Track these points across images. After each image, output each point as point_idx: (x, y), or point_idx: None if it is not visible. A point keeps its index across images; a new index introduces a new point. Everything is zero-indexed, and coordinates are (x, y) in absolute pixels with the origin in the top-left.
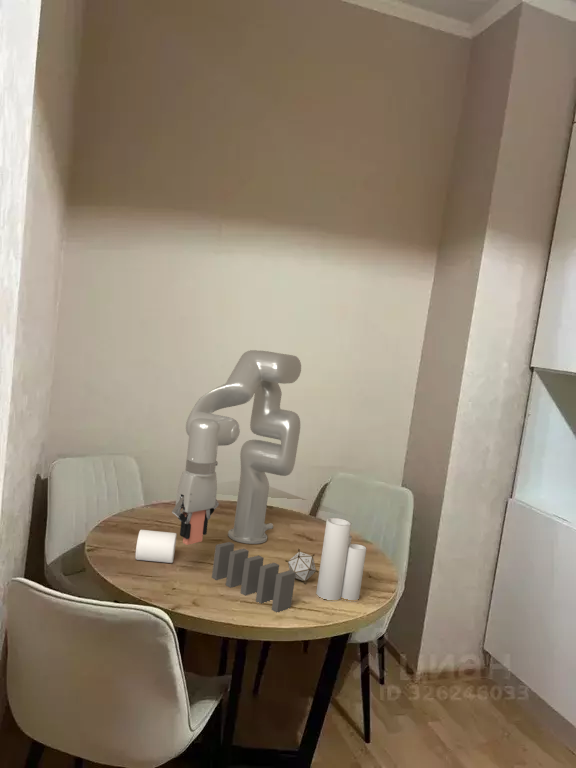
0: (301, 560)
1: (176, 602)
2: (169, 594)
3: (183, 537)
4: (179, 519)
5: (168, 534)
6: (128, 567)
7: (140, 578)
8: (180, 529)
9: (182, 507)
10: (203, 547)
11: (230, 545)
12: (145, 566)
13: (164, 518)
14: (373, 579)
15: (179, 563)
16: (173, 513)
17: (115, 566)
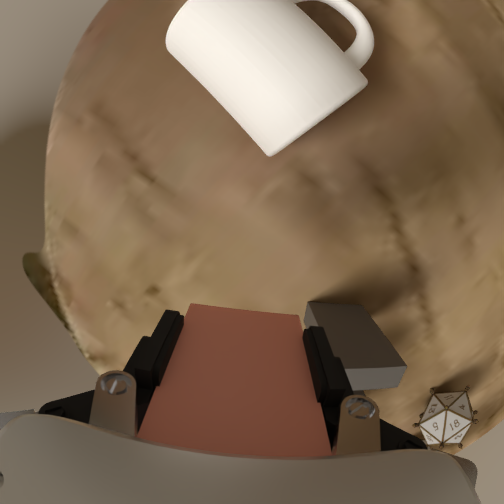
0: (437, 443)
1: (113, 345)
2: (121, 307)
3: (184, 320)
4: (87, 394)
5: (298, 85)
6: (141, 84)
7: (114, 176)
8: (136, 348)
9: (113, 431)
10: (464, 120)
11: (379, 386)
12: (192, 103)
13: None
14: (484, 424)
15: (314, 151)
16: (3, 416)
17: (116, 61)
